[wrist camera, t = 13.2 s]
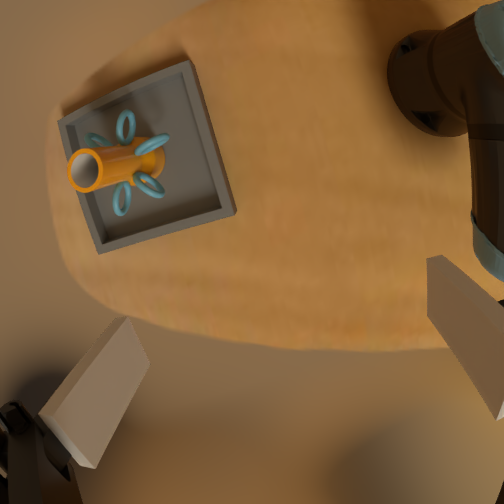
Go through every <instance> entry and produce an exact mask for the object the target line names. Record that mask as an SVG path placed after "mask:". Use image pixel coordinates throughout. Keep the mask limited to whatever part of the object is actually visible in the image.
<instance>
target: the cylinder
mask: <svg viewBox="0 0 504 504" xmlns="http://www.w3.org/2000/svg"><path fill="white" fill-rule="evenodd" d="M126 117H128V119H129V133H128V136H127V138H126V139H124V136H123V124H124V120H125V118H126ZM135 129H136V120H135V116H134V113H133V112H132V111H131V110H129V109H126V110H124V111H122V112H121V114H120V115H119V117H118V120H117V124H116V137H117V140H118V143H119V144H118V145H117V146H113V145H112V144H111V143H110V142H109V141H108V140H107V139H105V138H104V137H102V136H100V135H98V134H95V133H87V134H86V135H85V136H84V140H85V142H86V144H87V145H88V146H89V147H90V148H84V149H80V150H78V151H76V152H75V153H74V154H73V155H72V156H71V158H70V160H69V163H68V167H67V174H68V179H69V181H70V183H71V185H72V186H73V187H74V188H75V189H76V190H77V191H79V192H82V193H88V192H91V191H94V190H97V189H100V188H103V187H106V186H110V185H113V184H116V183H117V184H116V186H115V188H114V191H113V197H112V205H113V210H114V212H115V214H116V215H118V216H123V215H125V214H126V213H127V211H128V209H129V206H130V203H131V186H137V187H138V188H139V189H140V190H142V191H143V192H144V193H146V194H148V195H149V196H152V197H154V198H162V197H164V195H165V190H164V188H163V186H162V185H161V184H160V183H159V182H158V181H157V180H156V179H155V178H157V177H158V176H159V175H160V173H161V172H162V170H163V168H164V165H165V153H164V150H163V148H162V146H161V145H163V144H164V143H166V142H167V141H168V140H169V138H170V135H169V134H168V133H162V134H159V135H156V136H154V137H152V138H150V137H134V135H135ZM92 139H93V140H96V141H98V142H100V143H101V144H103V145H104V146H105V147H102V146H100V145H98V144H97V143H95V142H94V141H93V140H92ZM146 182H148V183H150V184H151V185H153V186H154V187H155V188H156V189H157V191H156V190H154V189H152V188H150V187H148V186H147V185H146V184H145V183H146ZM123 186H124V188H125V201H124V205H123V207H122V209H120V206H119V195H120V191H121V189H122V187H123Z"/></svg>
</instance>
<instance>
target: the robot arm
mask: <svg viewBox="0 0 504 504" xmlns="http://www.w3.org/2000/svg"><path fill="white" fill-rule="evenodd" d="M387 75H388V83H389V87H390V91H391V93H392V96H393V98H394V100H395V102H396V104H397V106H398V108H399V109H400V110H401V112H402V113H403V114H404V116H405V117H406V118H407V119H408V120H409V121H410V122H411V123H412V124H413V125H415V126H416V127H417V128H419V129H420V130H422V131H424V132H426V133H428V134H431V135H435V136H440V137H455V136H460V135H463V134H465V133H467V132H468V140H469V149H470V161H471V179H472V210H471V221H472V224H473V248H474V252H475V255H476V257H477V258H478V260H479V261H480V263H481V265H482V266H483V267H484V268H485V269H486V270H487V271H488V272H489V273H490V274H492V275H493V276H494V277H496V278H497V279H499V280H501V281H502V282H504V0H501V1H498V2H495V3H492V4H490V5H485V6H481V7H479V8H478V10H477V11H475V12H473V13H472V14H470V15H468V16H466V17H465V18H463V19H461V20H459V21H458V22H456V23H454V24H452V25H451V26H449V27H447V28H446V29H444V30H421V31H417V32H414V33H411V34H409V35H408V36H406V37H405V38H404V39H402V40H401V41H400V42H399V43H397V45H396V46H395V47H394V49H393V50H392V52H391V54H390V57H389V61H388V68H387ZM427 316H428V318H429V319H430V320H431V322H432V323H433V324H434V326H435V327H436V329H437V330H438V331H439V333H440V334H441V336H442V337H443V338H444V340H445V341H446V343H447V344H448V346H449V347H450V349H451V350H452V351H453V353H454V354H455V355H456V357H457V359H458V360H459V362H460V363H461V365H462V366H463V368H464V369H465V371H466V372H467V374H468V376H469V377H470V379H471V380H472V382H473V384H474V385H475V387H476V388H477V390H478V392H479V393H480V395H481V396H482V398H483V400H484V401H485V403H486V404H487V406H488V408H489V410H490V411H491V413H492V414H493V416H494V418H495V420H496V421H497V420H499V419H501V418H503V417H504V300H501V301H498V302H497V301H496V300H495V299H494V298H493V297H491V296H490V295H489V294H488V293H487V292H486V291H485V290H484V289H482V288H481V287H480V286H479V285H478V284H477V283H476V282H474V281H473V280H472V279H471V278H470V277H469V276H467V275H466V274H465V273H464V272H463V271H461V270H460V269H459V268H458V267H457V266H455V265H454V264H453V263H452V262H450V261H449V260H448V259H447V258H446V257H444V256H443V255H439V256H435V257H431V258H427ZM149 366H150V362H149V360H148V358H147V356H146V354H145V352H144V350H143V348H142V345H141V343H140V341H139V339H138V337H137V335H136V332H135V330H134V328H133V326H132V324H131V321H130V319H129V317H128V316H127V317H121V318H115V319H114V320H113V321H112V323H111V324H110V325H109V326H108V327H107V329H106V330H105V331H104V332H103V333H102V334H101V336H100V337H99V338H98V339H97V340H96V342H95V343H94V344H93V345H92V346H91V348H90V349H89V350H88V351H87V352H86V354H85V355H84V356H83V357H82V359H81V360H80V361H79V362H78V364H77V365H76V366H75V367H74V368H73V370H72V371H71V372H70V374H69V375H68V376H67V377H66V378H65V380H63V381H62V382H61V384H60V385H59V386H58V388H57V389H56V391H55V392H54V393H53V394H52V395H51V398H49V399H48V401H47V402H46V403H45V404H44V406H43V407H42V408H41V409H40V411H39V412H38V414H37V415H36V416H35V417H34V419H33V418H32V416H31V415H30V413H29V412H28V411H27V409H26V408H25V407H24V405H23V404H22V402H21V401H19V400H13V401H10V402H8V403H6V404H4V405H3V406H2V407H1V408H0V423H1V424H2V426H3V427H4V428H5V429H6V431H2V429H1V428H0V467H1V468H2V469H3V470H4V471H5V472H6V473H7V477H6V478H4V477H3V476H2V475H1V474H0V504H83V502H82V499H81V495H80V491H79V488H78V484H77V481H76V477H75V473H74V469H73V467H72V465H71V464H70V463H69V459H70V457H71V456H72V457H73V458H74V459H75V460H76V461H77V462H78V463H79V465H80V466H85V467H89V468H94V469H95V468H96V466H97V465H98V463H99V461H100V459H101V457H102V455H103V453H104V451H105V449H106V447H107V445H108V443H109V441H110V439H111V437H112V435H113V433H114V431H115V429H116V427H117V426H118V424H119V422H120V420H121V418H122V416H123V414H124V412H125V410H126V408H127V407H128V405H129V403H130V401H131V399H132V397H133V395H134V394H135V392H136V390H137V388H138V386H139V384H140V382H141V381H142V379H143V377H144V375H145V373H146V371H147V370H148V367H149ZM495 504H504V482H503V485H502V487H501V490H500V493H499V495H498V498H497V501H496V503H495Z"/></svg>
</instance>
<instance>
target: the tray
mask: <svg viewBox="0 0 504 504" xmlns="http://www.w3.org/2000/svg"><path fill="white" fill-rule="evenodd" d="M126 109H129V110H131V111H132V112H133V113H134V116H135V120H136V129H135V135H134V137H150V138H152V137H154V136H156V135H159V134H162V133H168V134H169V135H170V138H169V140H168V141H167V142H166V143H164V144H163V145H161V146H162V148H163V150H164V153H165V165H164V168H163V170H162V172H161V173H160V175H159V176H158V177H157V178H155V179H156V180H157V181H158V182H159V183H160V184H161V185H162V186H163V188H164V190H165V195H164V197H162V198H154V197H152V196H149V195H148V194H146V193H144V192H143V191H142V190H140V189H139V188H138V187H137V186H131V203H130V206H129V209H128V211H127V213H126V214H125V215H123V216H118V215H116V214H115V212H114V210H113V205H112V197H113V191H114V188H115V186H116V184H117V183H116V184H113V185H110V186H106V187H103V188H100V189H97V190H94V191H91V192H88V193H82V192H79V191H77V190H76V192H77V195H78V198H79V201H80V204H81V207H82V210H83V213H84V216H85V219H86V222H87V225H88V228H89V230H90V233H91V236H92V239H93V241H94V244H95V247H96V249H97V252H98V254H103V253H106V252H109V251H112V250H116V249H119V248H122V247H125V246H129V245H132V244H135V243H139V242H142V241H145V240H149V239H152V238H156V237H159V236H162V235H166V234H169V233H173V232H176V231H180V230H183V229H187V228H190V227H194V226H197V225H201V224H205V223H208V222H212V221H215V220H219V219H223V218H226V217H230V216H234V215H235V214H236V212H237V208H236V205H235V201H234V198H233V194H232V191H231V188H230V184H229V181H228V178H227V174H226V171H225V167H224V164H223V161H222V157H221V154H220V150H219V147H218V144H217V140H216V137H215V134H214V130H213V127H212V123H211V120H210V117H209V113H208V110H207V106H206V103H205V100H204V96H203V93H202V89H201V86H200V83H199V79H198V76H197V72H196V69H195V66H194V64H193V63H192V62H191V61H189V60H187V61H184V62H181V63H178V64H176V65H173V66H170V67H168V68H165V69H163V70H160V71H158V72H155V73H153V74H150V75H148V76H146V77H143V78H141V79H139V80H136V81H134V82H132V83H130V84H127V85H125V86H123V87H121V88H119V89H117V90H115V91H112V92H110V93H108V94H106V95H104V96H102V97H100V98H98V99H96V100H94V101H93V102H91V103H89V104H87V105H85V106H83V107H81V108H79V109H78V110H76V111H74V112H72V113H70V114H69V115H67V116H65V117H64V118H62V119H60V120H58V121H57V122H58V126H59V130H60V134H61V139H62V143H63V146H64V150H65V154H66V158H67V161H68V163H69V160H70V158H71V156H72V155H73V154H74V153H75V152H76V151H78V150H80V149H84V148H90V147H89V146H88V145H87V144H86V142H85V140H84V136H85V135H86V134H87V133H95V134H98V135H100V136H102V137H104V138H105V139H107V140H108V141H109V142H110V143H111V144H112V145H113V146H117V145H118V144H119V143H118V140H117V137H116V124H117V120H118V117H119V115H120V114H121V112H122V111H124V110H126ZM128 133H129V119H128V117H126V118H125V120H124V124H123V136H124V139H126V138H127V136H128ZM92 140H93V139H92ZM93 141H94V142H95V143H97V144H98V145H100V146H102V147H105V146H104V145H103V144H101V143H100V142H98V141H96V140H93ZM145 184H146V185H147V186H148V187H150V188H152V189H154V190H156V191H157V189H156V188H155V187H154V186H153V185H151V184H150V183H148V182H146V183H145ZM124 201H125V188H124V186H123V187H122V189H121V191H120V195H119V206H120V209H122V207H123V205H124Z"/></svg>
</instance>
